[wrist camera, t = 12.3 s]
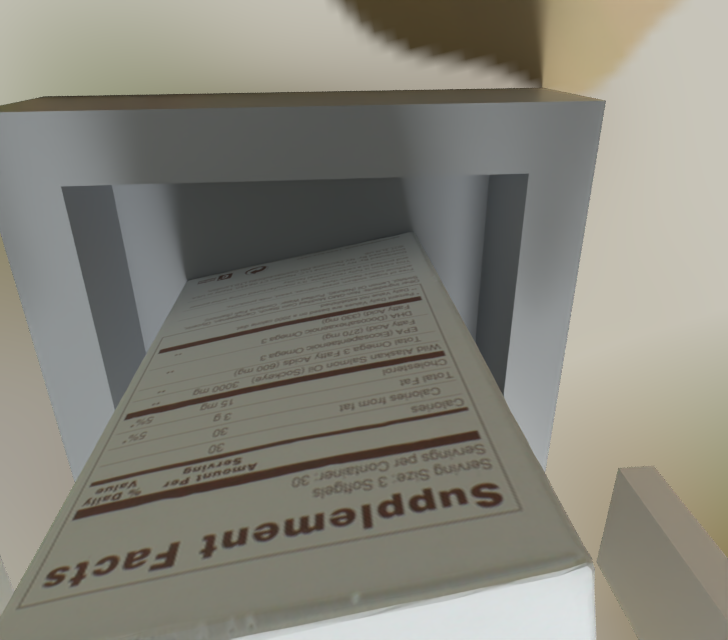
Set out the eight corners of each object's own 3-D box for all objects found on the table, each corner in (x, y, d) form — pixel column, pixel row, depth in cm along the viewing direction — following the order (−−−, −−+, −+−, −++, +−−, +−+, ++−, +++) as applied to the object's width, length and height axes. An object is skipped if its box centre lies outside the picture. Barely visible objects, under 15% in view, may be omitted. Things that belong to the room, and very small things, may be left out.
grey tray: (44, 96, 16) (-36, 112, 12) (542, 88, 17) (606, 100, 13) (147, 528, 23) (115, 619, 19) (494, 505, 24) (526, 589, 20)
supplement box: (448, 418, 21) (614, 881, 9) (246, 459, 21) (163, 967, 9) (419, 221, 17) (620, 564, 6) (179, 271, 17) (-73, 701, 6)
